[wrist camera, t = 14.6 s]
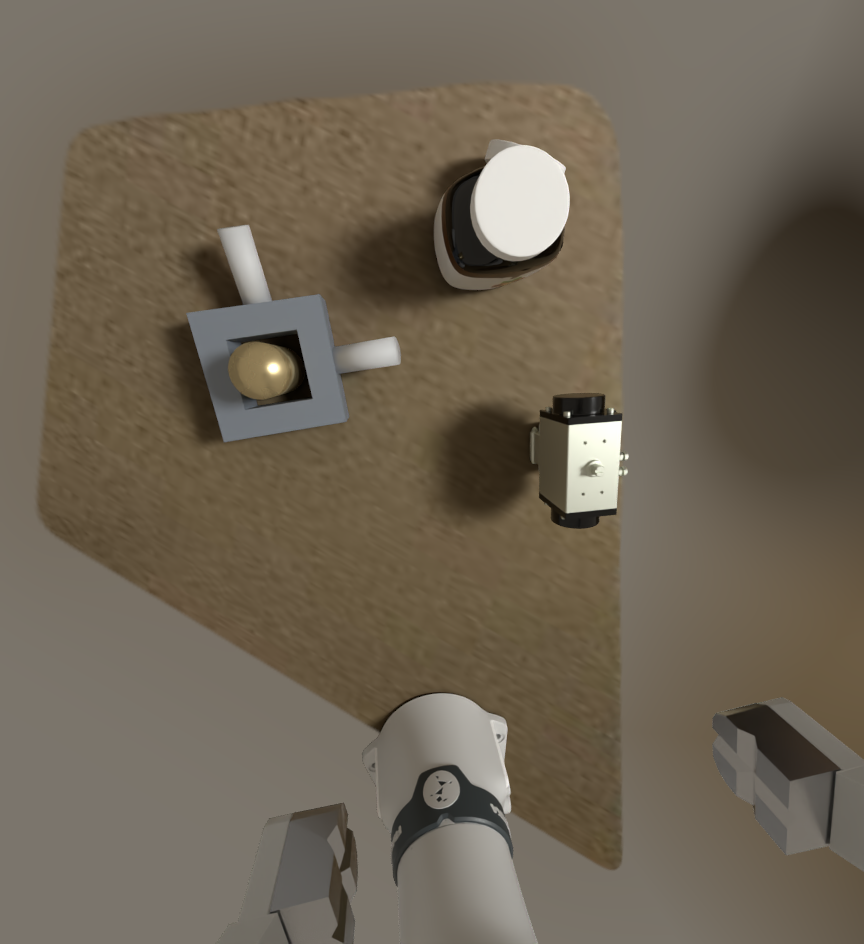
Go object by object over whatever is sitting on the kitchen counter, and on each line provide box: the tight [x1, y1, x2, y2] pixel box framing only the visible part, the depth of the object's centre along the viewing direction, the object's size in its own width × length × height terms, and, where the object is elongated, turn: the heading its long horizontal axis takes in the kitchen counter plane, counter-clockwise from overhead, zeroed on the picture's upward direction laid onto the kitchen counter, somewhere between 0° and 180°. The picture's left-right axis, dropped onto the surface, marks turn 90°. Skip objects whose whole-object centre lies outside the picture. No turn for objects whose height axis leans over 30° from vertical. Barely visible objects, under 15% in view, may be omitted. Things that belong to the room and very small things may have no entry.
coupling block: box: [186, 225, 401, 442], centre depth 37 cm, size 17×17×6 cm
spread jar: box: [434, 140, 570, 290], centre depth 33 cm, size 12×11×12 cm
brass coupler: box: [228, 342, 305, 400], centre depth 36 cm, size 4×4×8 cm
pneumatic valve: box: [530, 393, 628, 529], centre depth 39 cm, size 6×12×12 cm, turn 3°
